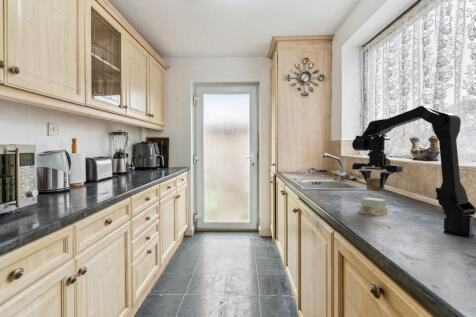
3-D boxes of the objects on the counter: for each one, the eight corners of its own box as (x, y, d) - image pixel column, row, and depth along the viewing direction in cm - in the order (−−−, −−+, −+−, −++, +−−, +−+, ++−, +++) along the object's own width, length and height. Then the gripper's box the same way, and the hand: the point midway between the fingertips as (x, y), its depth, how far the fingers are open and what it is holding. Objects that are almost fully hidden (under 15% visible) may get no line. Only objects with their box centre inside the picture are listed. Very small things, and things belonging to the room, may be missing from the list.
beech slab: (387, 214, 115) (387, 207, 114) (377, 216, 110) (378, 209, 110) (368, 210, 121) (369, 203, 121) (359, 212, 116) (359, 206, 116)
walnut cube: (384, 190, 115) (384, 178, 114) (378, 191, 112) (378, 179, 111) (372, 188, 119) (372, 177, 118) (366, 189, 116) (366, 178, 115)
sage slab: (385, 206, 115) (386, 199, 115) (377, 208, 111) (377, 201, 111) (369, 204, 121) (370, 197, 120) (361, 205, 116) (361, 198, 116)
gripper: (409, 151, 112) (407, 189, 112) (364, 150, 127) (363, 183, 127) (397, 151, 105) (395, 191, 106) (351, 150, 120) (350, 185, 121)
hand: (375, 187), depth 115 cm, fingers closed on walnut cube, 5 cm apart
